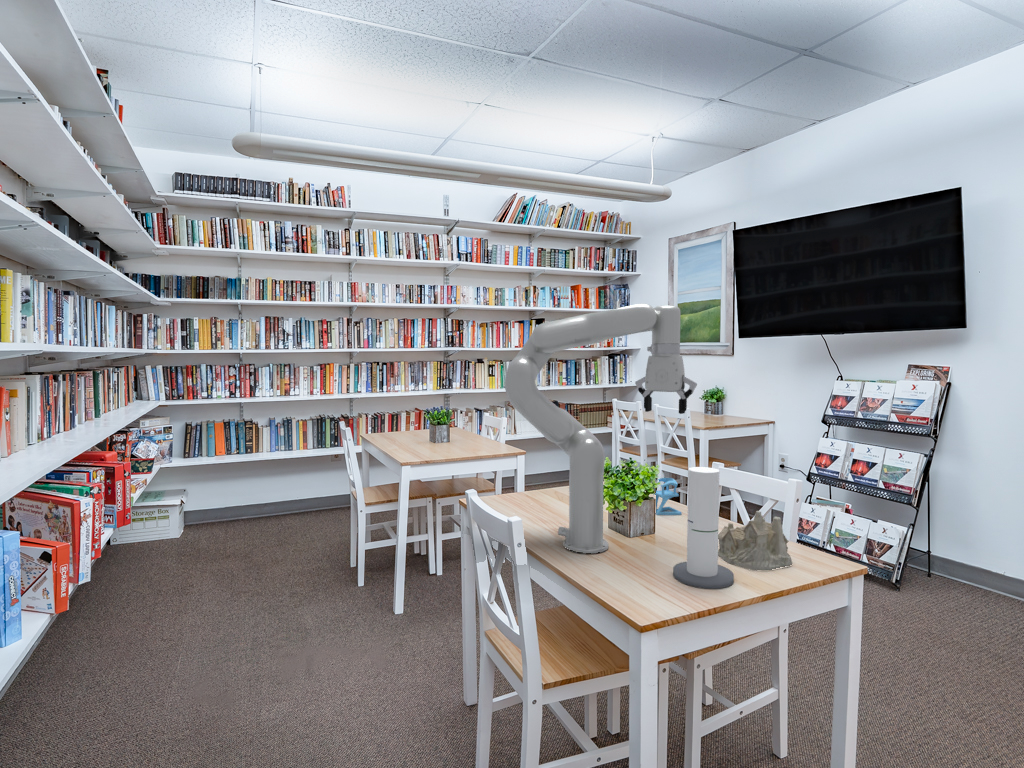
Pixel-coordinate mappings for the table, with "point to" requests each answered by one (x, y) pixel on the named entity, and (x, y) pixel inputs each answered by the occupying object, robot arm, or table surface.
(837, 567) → the table surface
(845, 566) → the table surface
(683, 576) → the coaster
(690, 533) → the cylindrical container
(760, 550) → the ceramic cottage
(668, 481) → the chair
